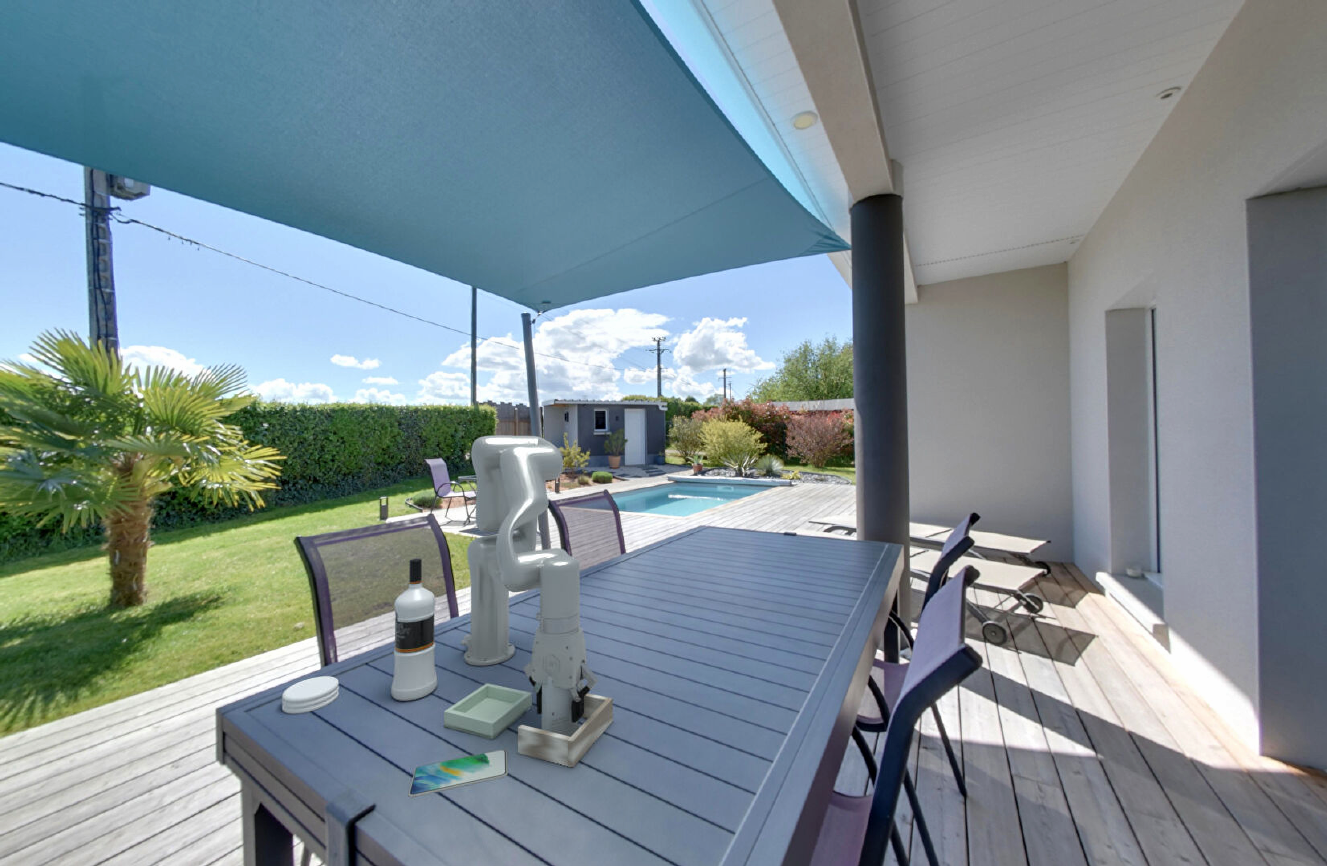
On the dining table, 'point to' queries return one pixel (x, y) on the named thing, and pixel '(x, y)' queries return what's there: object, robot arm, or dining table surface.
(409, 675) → the vodka
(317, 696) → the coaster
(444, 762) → the smartphone
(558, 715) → the skincare box
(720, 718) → the dining table surface
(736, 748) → the dining table surface
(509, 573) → the robot arm
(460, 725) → the tray
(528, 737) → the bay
